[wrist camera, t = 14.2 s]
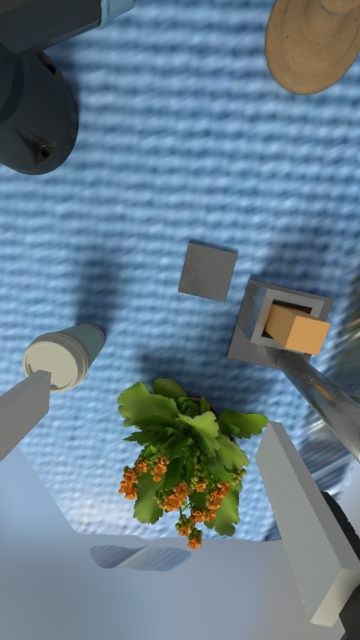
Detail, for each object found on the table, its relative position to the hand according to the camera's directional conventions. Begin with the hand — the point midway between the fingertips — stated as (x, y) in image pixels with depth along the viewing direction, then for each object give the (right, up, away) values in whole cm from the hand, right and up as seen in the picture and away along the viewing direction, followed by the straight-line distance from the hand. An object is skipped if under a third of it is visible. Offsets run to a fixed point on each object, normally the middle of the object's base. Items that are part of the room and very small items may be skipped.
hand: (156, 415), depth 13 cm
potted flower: (+5, -14, +31) cm, 34 cm away
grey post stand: (+21, +4, +26) cm, 33 cm away
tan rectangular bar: (+17, +7, +24) cm, 30 cm away
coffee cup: (-15, +2, +28) cm, 32 cm away
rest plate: (+6, +13, +24) cm, 28 cm away
